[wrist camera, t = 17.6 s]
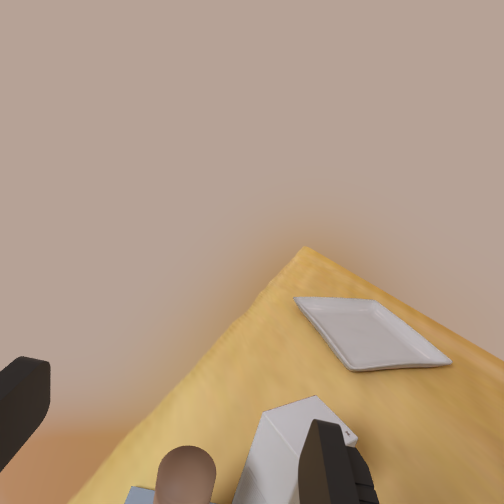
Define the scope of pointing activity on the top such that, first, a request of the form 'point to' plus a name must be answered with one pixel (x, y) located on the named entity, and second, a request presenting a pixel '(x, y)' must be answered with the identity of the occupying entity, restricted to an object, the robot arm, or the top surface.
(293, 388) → the top surface
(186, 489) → the plug
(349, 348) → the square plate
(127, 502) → the mat
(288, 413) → the small box
